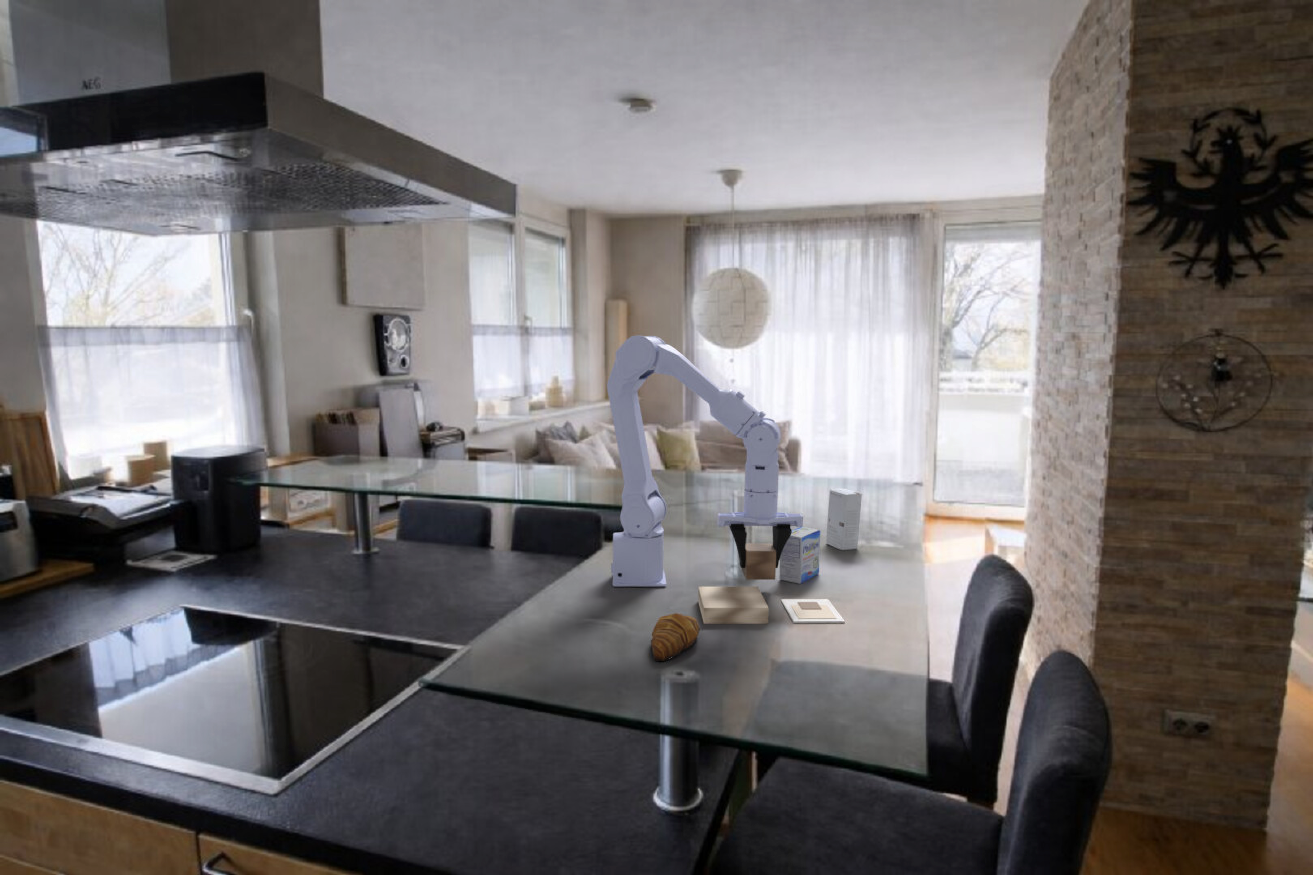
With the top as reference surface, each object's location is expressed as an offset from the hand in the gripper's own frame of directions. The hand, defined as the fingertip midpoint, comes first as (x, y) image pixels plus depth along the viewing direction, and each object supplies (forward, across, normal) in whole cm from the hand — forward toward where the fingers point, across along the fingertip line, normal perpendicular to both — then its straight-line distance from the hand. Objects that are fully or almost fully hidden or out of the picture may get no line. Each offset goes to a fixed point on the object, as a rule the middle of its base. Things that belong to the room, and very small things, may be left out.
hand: (758, 566), depth 131 cm
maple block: (+5, -6, -10) cm, 13 cm away
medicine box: (+5, +9, +8) cm, 13 cm away
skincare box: (+5, +23, +29) cm, 37 cm away
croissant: (+5, -16, -23) cm, 28 cm away
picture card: (+4, +7, -10) cm, 13 cm away
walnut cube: (+2, 0, 0) cm, 2 cm away
